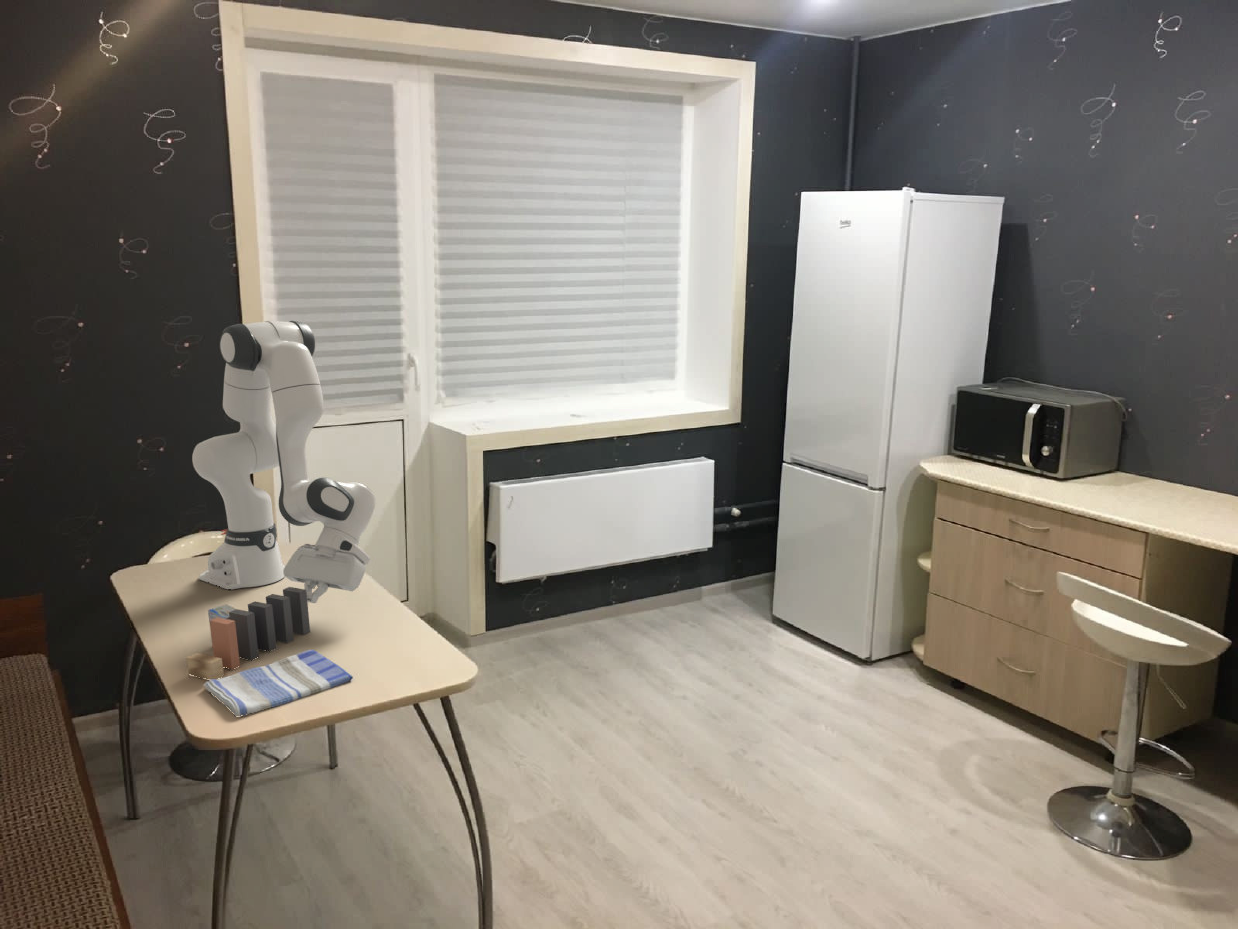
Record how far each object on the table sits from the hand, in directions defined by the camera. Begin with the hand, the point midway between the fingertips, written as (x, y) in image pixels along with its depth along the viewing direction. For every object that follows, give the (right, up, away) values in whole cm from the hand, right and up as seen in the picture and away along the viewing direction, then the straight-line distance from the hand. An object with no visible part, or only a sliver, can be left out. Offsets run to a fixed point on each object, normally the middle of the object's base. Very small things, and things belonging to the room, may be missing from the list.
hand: (308, 601), depth 218 cm
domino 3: (-6, -9, -11) cm, 15 cm away
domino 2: (-8, -10, -15) cm, 20 cm away
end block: (-13, -12, -24) cm, 30 cm away
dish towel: (+3, -13, -29) cm, 32 cm away
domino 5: (-2, -7, -2) cm, 7 cm away
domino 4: (-4, -8, -6) cm, 11 cm away
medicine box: (-14, -9, -10) cm, 19 cm away
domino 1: (-10, -11, -19) cm, 24 cm away
